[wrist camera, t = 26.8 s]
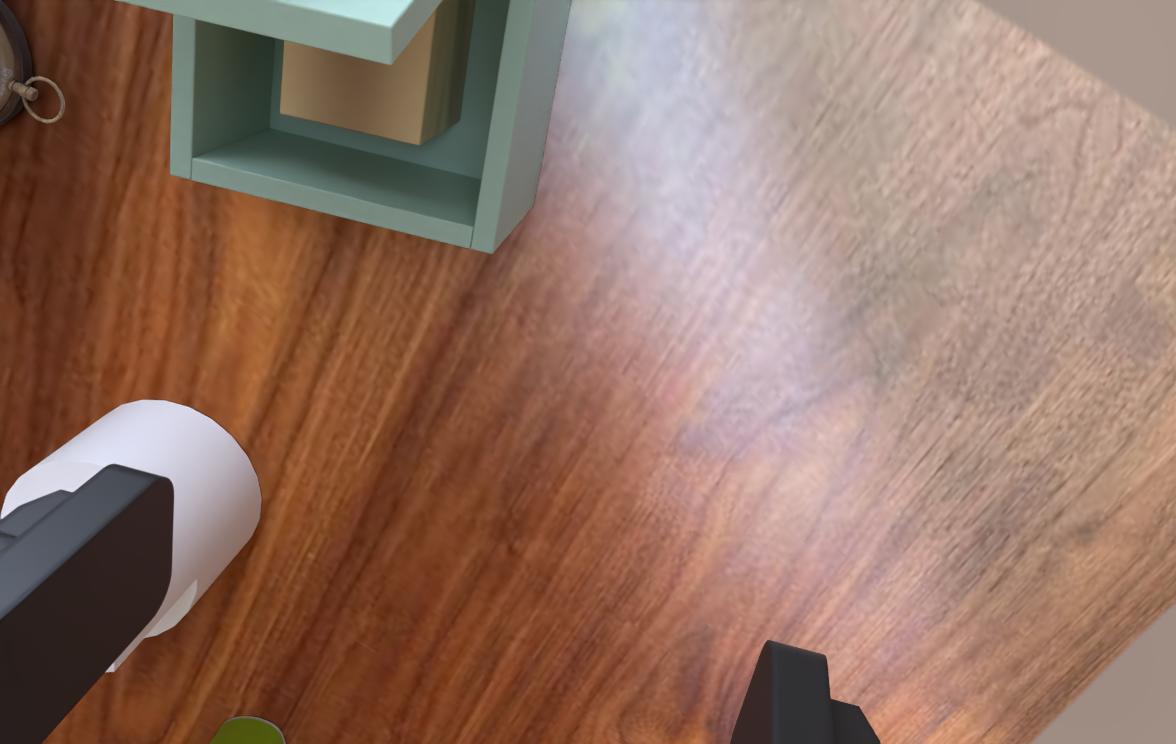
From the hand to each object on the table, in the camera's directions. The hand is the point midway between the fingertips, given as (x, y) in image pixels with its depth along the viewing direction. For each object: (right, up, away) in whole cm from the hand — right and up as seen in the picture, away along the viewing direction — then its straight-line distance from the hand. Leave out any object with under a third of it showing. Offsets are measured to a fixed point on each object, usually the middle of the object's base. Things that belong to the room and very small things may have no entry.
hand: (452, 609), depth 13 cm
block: (-5, +15, +24) cm, 29 cm away
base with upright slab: (-18, -2, +35) cm, 40 cm away
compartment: (-5, +17, +25) cm, 30 cm away
